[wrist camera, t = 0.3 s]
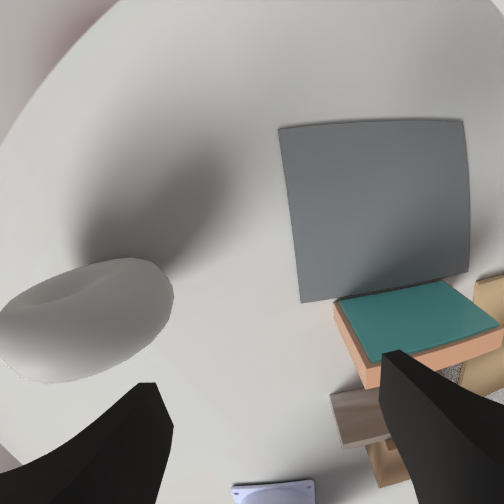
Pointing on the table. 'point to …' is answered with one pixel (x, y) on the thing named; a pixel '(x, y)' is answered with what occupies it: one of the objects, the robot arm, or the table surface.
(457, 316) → the tile
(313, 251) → the slate mat
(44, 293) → the donut
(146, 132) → the table surface
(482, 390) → the oak board
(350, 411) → the brown grey t-shaped block
